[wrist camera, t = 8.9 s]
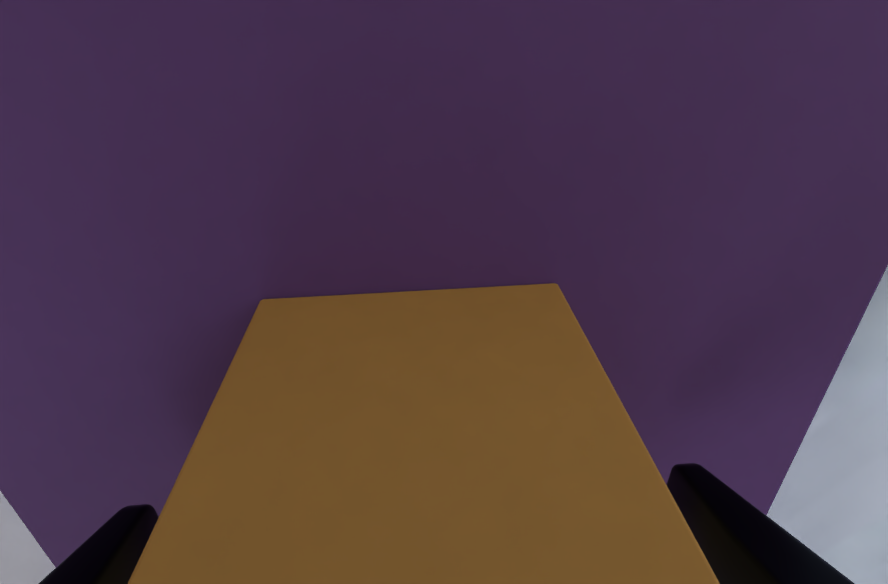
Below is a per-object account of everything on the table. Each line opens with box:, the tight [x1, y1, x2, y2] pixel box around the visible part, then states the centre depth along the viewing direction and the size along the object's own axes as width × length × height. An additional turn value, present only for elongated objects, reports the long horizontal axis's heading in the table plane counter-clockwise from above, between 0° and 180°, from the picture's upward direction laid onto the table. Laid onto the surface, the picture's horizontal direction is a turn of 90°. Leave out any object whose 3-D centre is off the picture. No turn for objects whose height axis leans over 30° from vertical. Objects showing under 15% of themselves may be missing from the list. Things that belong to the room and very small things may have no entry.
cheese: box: [128, 283, 720, 584], centre depth 7 cm, size 7×5×5 cm, turn 1°
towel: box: [0, 0, 888, 567], centre depth 10 cm, size 20×16×1 cm
